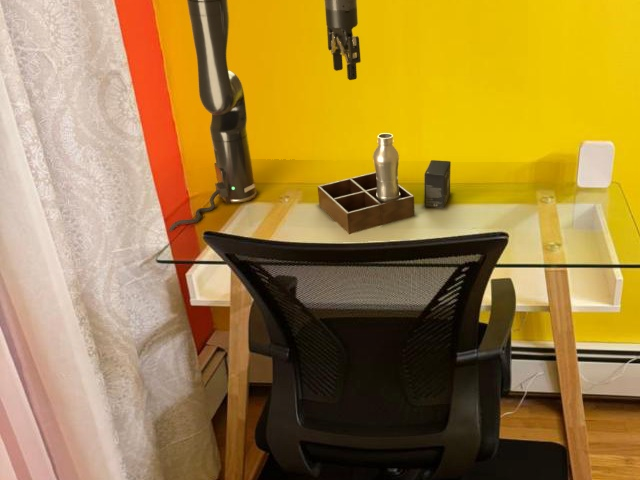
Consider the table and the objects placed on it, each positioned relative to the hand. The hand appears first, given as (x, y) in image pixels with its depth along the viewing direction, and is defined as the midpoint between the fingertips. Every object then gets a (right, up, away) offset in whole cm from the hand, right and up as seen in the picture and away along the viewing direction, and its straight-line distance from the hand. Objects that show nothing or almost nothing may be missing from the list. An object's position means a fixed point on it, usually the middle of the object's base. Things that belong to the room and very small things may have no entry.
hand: (345, 74), depth 196 cm
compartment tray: (+5, -32, +11) cm, 34 cm away
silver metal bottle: (+11, -32, +9) cm, 35 cm away
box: (+24, -29, +15) cm, 40 cm away
